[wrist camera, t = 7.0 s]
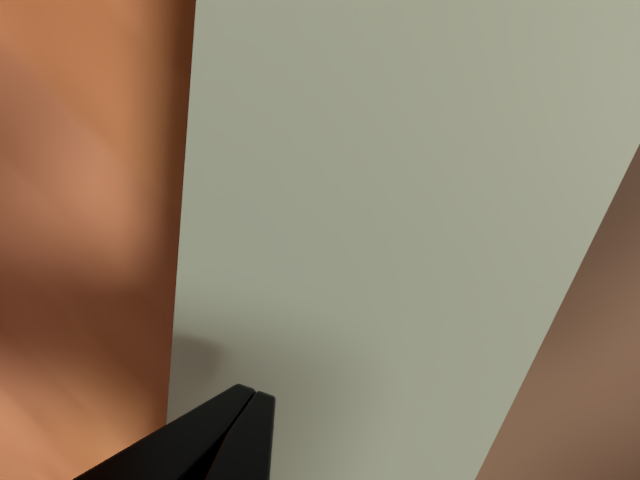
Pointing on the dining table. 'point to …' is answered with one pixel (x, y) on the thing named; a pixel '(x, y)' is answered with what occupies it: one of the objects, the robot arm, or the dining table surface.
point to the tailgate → (391, 214)
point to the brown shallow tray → (584, 367)
